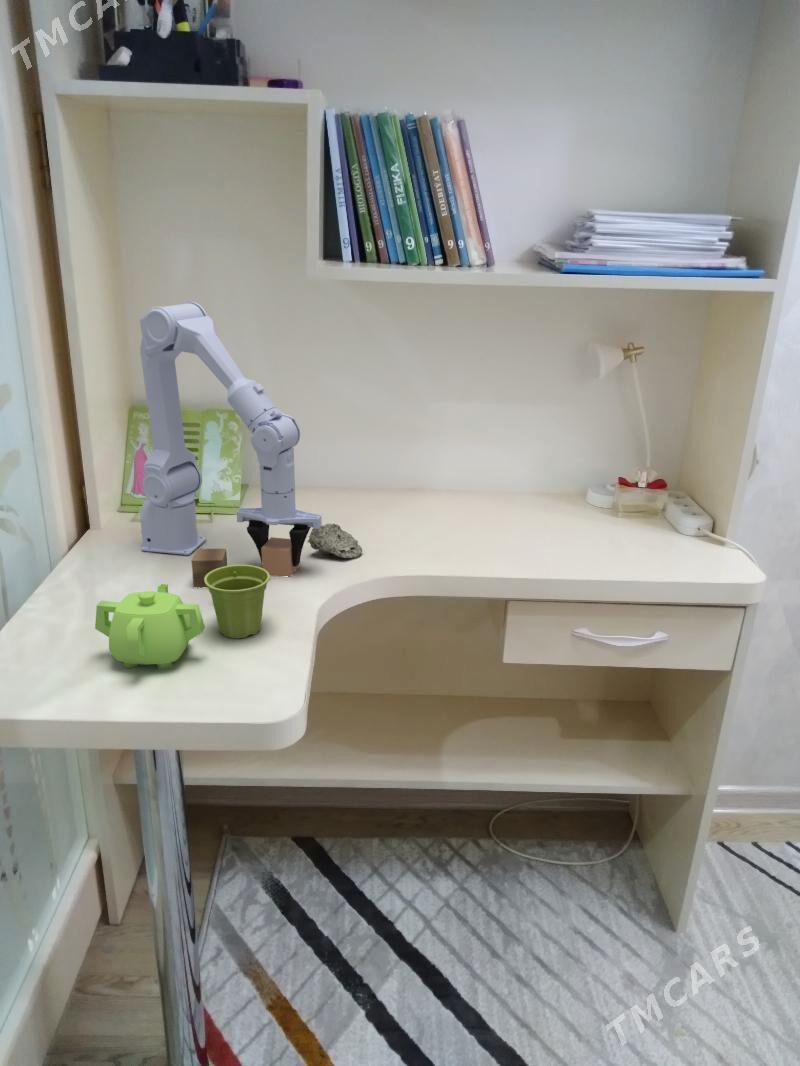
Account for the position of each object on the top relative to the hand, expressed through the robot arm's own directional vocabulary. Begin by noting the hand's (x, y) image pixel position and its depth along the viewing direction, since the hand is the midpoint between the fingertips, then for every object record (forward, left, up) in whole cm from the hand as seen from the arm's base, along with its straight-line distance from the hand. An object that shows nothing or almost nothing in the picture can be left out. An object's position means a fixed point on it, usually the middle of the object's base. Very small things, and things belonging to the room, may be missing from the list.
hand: (280, 562), depth 144 cm
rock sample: (+8, +10, -2) cm, 13 cm away
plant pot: (+1, -22, -2) cm, 22 cm away
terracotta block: (0, 0, -1) cm, 1 cm away
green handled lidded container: (-8, -32, -2) cm, 33 cm away
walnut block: (-10, -7, -2) cm, 12 cm away
